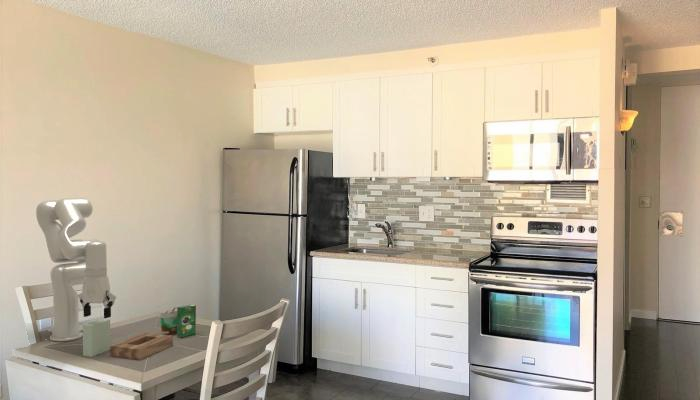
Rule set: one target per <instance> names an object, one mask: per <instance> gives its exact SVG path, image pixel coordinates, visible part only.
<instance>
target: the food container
mask: <svg viewBox="0 0 700 400" xmlns="http://www.w3.org/2000/svg"><path fill="white" fill-rule="evenodd" d="M177 307H178V306H177ZM177 307H174V306H173V309H171V310H167V311H165V312H160V315H159V319H160V328H161V334H163V335H172V336H174V335H177Z"/></svg>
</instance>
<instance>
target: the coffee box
mask: <svg viewBox="0 0 700 400" xmlns="http://www.w3.org/2000/svg"><path fill="white" fill-rule="evenodd" d="M196 319H197V305H196V304H189V305H188V304H187V305H182V306H177V334H176V337H177V338H179V339H181V338H185V337H189V336H193V335H196V334H197V333H196V328H197V327H196V325H197V324H196V322H197V321H196Z"/></svg>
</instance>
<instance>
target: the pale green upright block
mask: <svg viewBox="0 0 700 400" xmlns="http://www.w3.org/2000/svg"><path fill="white" fill-rule="evenodd" d="M82 333H83V336H82V356H83V357H90V358H92V357H95V356H98V355H101V354H102V353H104V352H107V351H110V346H111V320H110V319H109V318H100V319H97V320H93V321H91V322H87V323H85V324H82Z"/></svg>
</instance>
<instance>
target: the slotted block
mask: <svg viewBox="0 0 700 400" xmlns="http://www.w3.org/2000/svg"><path fill="white" fill-rule="evenodd" d="M173 337H174V335H163V334H162V333H161V334H160V333H150V332H142V333H139V334H136V335H134V336H131V337H128V338H126V339H123V340H121V341H119V342H116V343H114V344H110V350H109V357H113V358H114V357H115V358H121V359H131V360H137V361H138V360H139V361H141V360H143V359H146V358H148V357H151V356H152V355H154V354H156V353H159V352H161V351H164V350H166V349H168V348H170V347H173V344H174V342H173V341H174V338H173Z"/></svg>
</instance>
